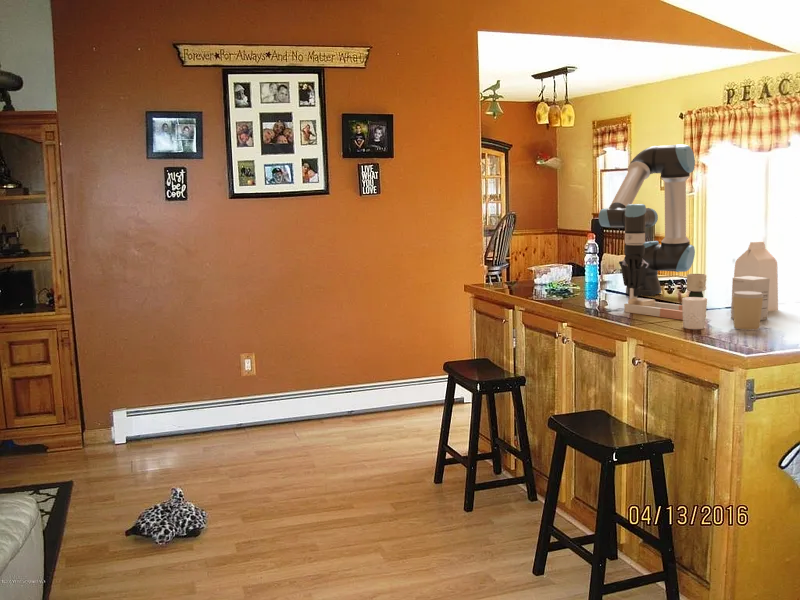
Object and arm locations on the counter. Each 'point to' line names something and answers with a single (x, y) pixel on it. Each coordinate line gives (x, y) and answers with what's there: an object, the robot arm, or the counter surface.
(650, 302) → the maple block
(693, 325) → the white cup
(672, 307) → the channel
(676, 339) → the counter surface
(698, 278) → the character mug
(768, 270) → the milk
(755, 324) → the coffee cup
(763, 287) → the supplement box
